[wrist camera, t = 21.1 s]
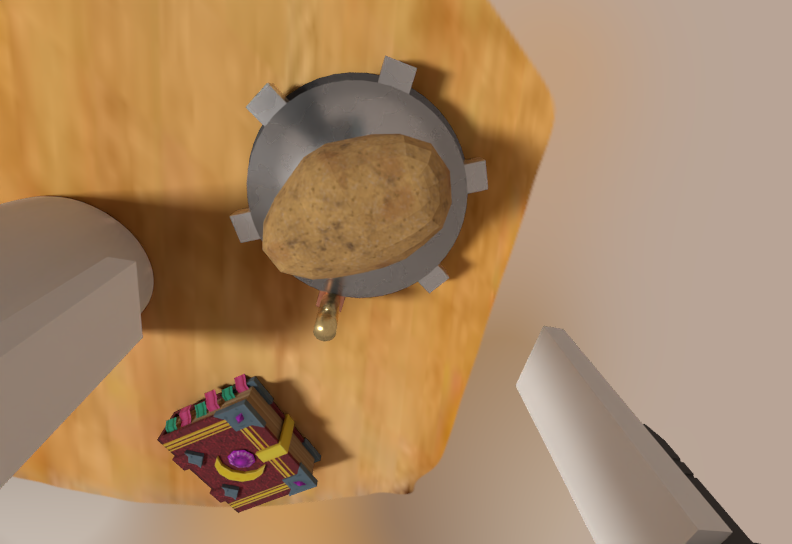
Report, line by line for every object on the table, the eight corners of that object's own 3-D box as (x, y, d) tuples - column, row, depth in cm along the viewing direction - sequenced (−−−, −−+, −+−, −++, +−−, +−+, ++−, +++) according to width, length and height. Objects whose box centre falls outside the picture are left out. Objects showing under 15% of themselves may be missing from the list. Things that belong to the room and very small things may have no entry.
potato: (248, 178, 29) (207, 205, 21) (412, 97, 27) (428, 97, 20) (311, 278, 33) (294, 329, 25) (457, 213, 31) (483, 249, 24)
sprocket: (467, 39, 27) (496, 22, 21) (490, 270, 36) (515, 306, 30) (192, 102, 28) (142, 103, 22) (280, 314, 36) (261, 359, 30)
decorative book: (247, 481, 49) (235, 520, 44) (166, 402, 42) (142, 438, 38) (322, 453, 48) (317, 490, 43) (251, 366, 41) (236, 400, 36)
